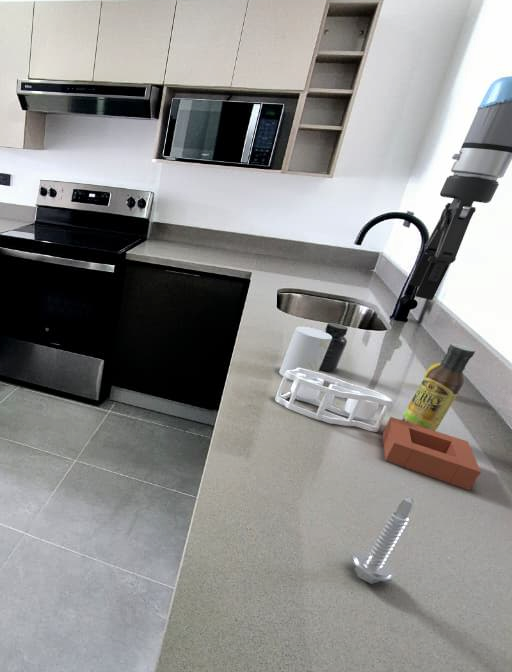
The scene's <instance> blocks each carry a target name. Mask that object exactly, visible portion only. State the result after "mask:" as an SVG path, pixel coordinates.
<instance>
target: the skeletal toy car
mask: <svg viewBox="0 0 512 672" xmlns="http://www.w3.org/2000/svg"><path fill="white" fill-rule="evenodd" d="M287 378H289V379H292V380H294V381H292V380H291V381H292V385H291V387H290V391H291V392H290V391H288V392H286V393H284V394H282V393H283V390H284V388H285V386H286V383H287V381H288V380H289V379H287ZM325 381H326V382H329V383H330V384H329V385H328V387H327V386H324V384H325ZM280 382H281V383H280V385H279V387H278V390H277V393H276V394H275V398H274V401H275V402H276V403H278V404H279V405H282V406H284V407H285V408H286V409H288V410H290V411H293V412H296V413H298V414H300V415H303V416H305V417H309V418H311V419H315V420H317V421H321V422H325V423H327V424H331V425H332V424H333V425H339V426H344V427H355V428H356V427H357V428H360V429H363V430H366V431H369V432H372V433H373V432H374V433H377V432H379V429H380V427H381V424H382V422H383V420H384V418H385V417H386V414H387V412H388V410H389V408H390V406H391V405H392V404H393V402H394V401H393V399H391V398H390V397H389V396H387V395H386V394H383V393H381V392H378V391H376V390H373V389H372V388H368V387H364V386H361V385H358V384H357V385H356V384H353V383H350V382H347V381H344V380H342V379H339V378H337V377H334V376H331V375H328V374H325V373H322V372H319V371H318V372H315V371H311V370H307V369H303V368H296V369H294V370H287V371H286V373H285V374H284V376H282V380H281V381H280ZM320 393H324V395H323V397H322V400H319V399H318V398H319V395H320ZM335 397H338V398H342V399H346V402H345V404H344V406H343V409H342V408H338V407H336V406H333V405H332V403H333V401H334V398H335ZM288 398H289V401H288ZM295 400H298V401H301V402H305V403H308V404H311V405H314V406H317V407H318V409H317V411H316V412H314V411H311V410H308V409H305V408H303V407H300V406H298V405H295V404H294V402H295ZM380 405H381V406H383V408H382V410H381V412H380V414H379V416H378V418H377V420H376V422H375V421H374V420H373V419H374V417H375V415H376V413H377V411H378V409H379V407H380Z"/></svg>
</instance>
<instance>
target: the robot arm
mask: <svg viewBox="0 0 512 672" xmlns="http://www.w3.org/2000/svg"><path fill="white" fill-rule="evenodd" d="M476 109H477V111H476V113H475V115H474V117H473V119H472V122H471V124H470V127H469V129H468V131H467V134H466V137H465V138H464V140H463V142H462V145H461V148H460V149H459V152H458V153H454V154H453V155H452V157H451V159H452V160H456V161H454V162H453V164H452V167H451V168H450V172H451V173H453V174H452V175H449V176H447V177H446V179H445V181H444V182H443V183H444V184H443V185H442V188H441V190H440V192H439V195H440V197H442V198H446V199H447V198H449V199H452V201H451V202H447V203H446V204H445V205H444V208H443V210H442V211H441V214H440V218H439V219H438V221H437V223H436V225H435V227H434V228H433V231H432V232H431V234H430V236H429V238H428V239H427V242H426V243H425V244H424V249H423V253H422V255H421V257H420V259H419V261H418V264H417V266H416V268H415V269H414V272H413V275H412V277H411V279H410V281H409V283H408V285H409V286H413V287H417V290H416V292H415V294H414V297H416V298H420V299H425V300H430V301H433V300H434V298H435V296H436V293H437V292H438V289H439V288H440V286H441V284H442V282H443V279H444V278H445V275H446V273H447V271H448V270H449V267H450V265H451V264H453V263H454V262H455V261H456V259H457V258H456V257H457V255H458V253H459V251H460V248H461V245H462V242H463V240H464V237H465V235H466V233H467V230H468V227H469V224H470V222H471V219H472V218H473V215H474V214H475V213H476V207H475V206H473V203H474V202H475V203H481V204H489V203H490V202H492V199H493V198H494V196H495V193H496V191H497V189H498V187H499V186H500V183H499V181H498V179H502V178H504V176H505V174H506V172H507V170H508V168H509V166H510V164H511V162H512V75H511V76H509V75H508V76H503V77H499V78H497V79H496V80H494V81H493V82H492V83H491V84H490V85H489V87H488V89H487V90H486V93H485V95H484V96H483V98H482V100H481V102H480V104H479V106H477V108H476Z"/></svg>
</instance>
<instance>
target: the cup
mask: <svg viewBox="0 0 512 672" xmlns="http://www.w3.org/2000/svg"><path fill="white" fill-rule="evenodd" d="M331 339H332V336H331V335H329V334H328V333H326V331H323V330H321V329H318V328H313V327H309V326H296V327H295V329H294V332H293V334H292V337H291V340H290V341H289V345H288V348H287V351H286V353H285V355H284V359H283V361H282V363H281V366H280V368H279V374H280V375H281V376H282V377H284V374H285V373H286V371H287V370H294V369H296V368H303V369H307V370H311V371H315V372H319V371H320V370H319V368H320V366H321V363H322V361H323V359H324V356H325V354H326V351H327V349H328V347H329V344H330V342H331ZM287 380H289V381H292V382H294V380H292V379H289V378H287Z"/></svg>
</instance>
